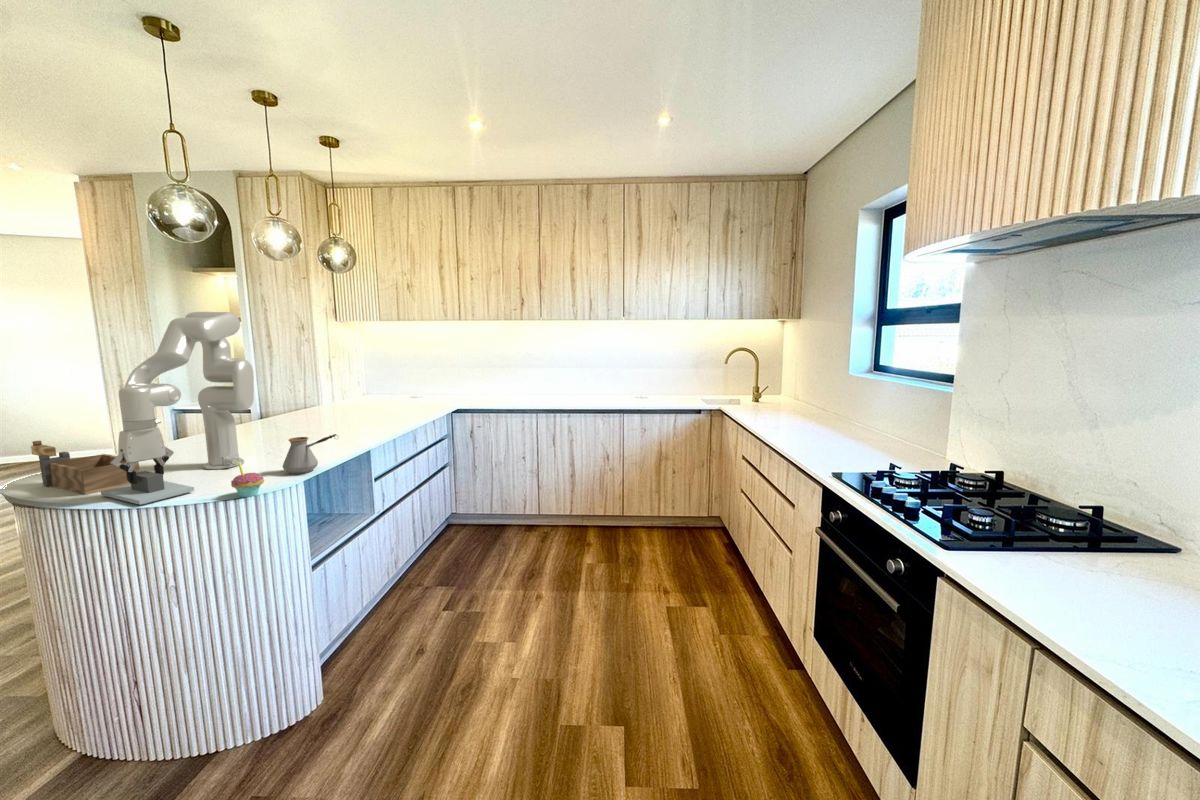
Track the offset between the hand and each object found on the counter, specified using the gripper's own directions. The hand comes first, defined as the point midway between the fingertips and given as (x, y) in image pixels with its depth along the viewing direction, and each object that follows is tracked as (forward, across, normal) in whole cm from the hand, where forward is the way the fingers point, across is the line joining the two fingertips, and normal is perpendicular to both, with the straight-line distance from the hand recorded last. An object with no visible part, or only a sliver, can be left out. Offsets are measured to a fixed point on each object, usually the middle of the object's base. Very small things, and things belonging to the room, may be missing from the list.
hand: (146, 479), depth 151 cm
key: (-4, +6, -49) cm, 49 cm away
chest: (+5, +2, -30) cm, 31 cm away
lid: (+5, 0, 0) cm, 5 cm away
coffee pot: (+5, -39, +24) cm, 46 cm away
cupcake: (+5, -13, +29) cm, 32 cm away
